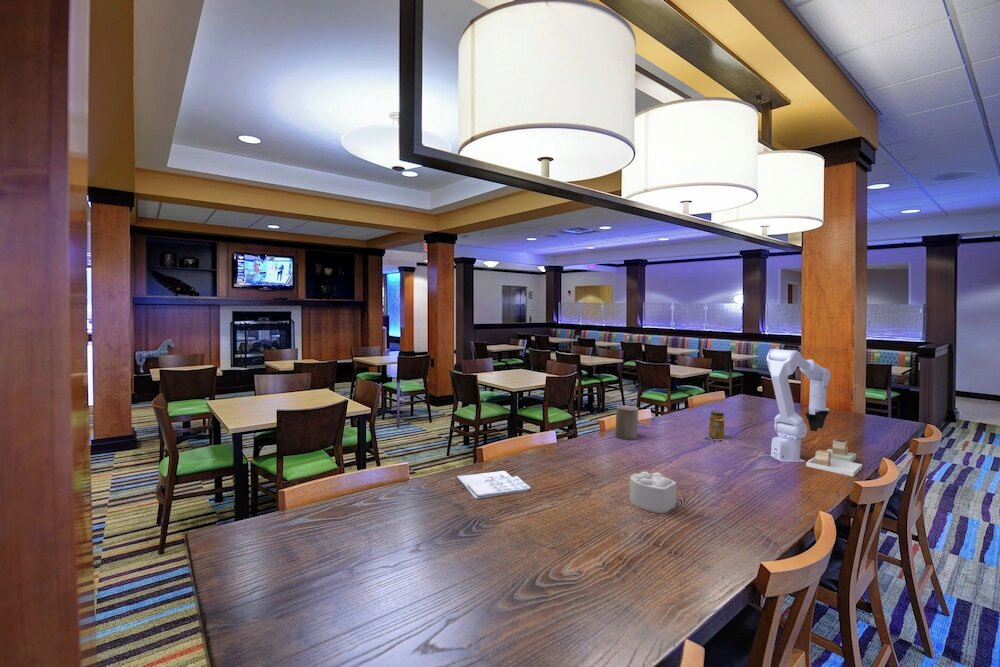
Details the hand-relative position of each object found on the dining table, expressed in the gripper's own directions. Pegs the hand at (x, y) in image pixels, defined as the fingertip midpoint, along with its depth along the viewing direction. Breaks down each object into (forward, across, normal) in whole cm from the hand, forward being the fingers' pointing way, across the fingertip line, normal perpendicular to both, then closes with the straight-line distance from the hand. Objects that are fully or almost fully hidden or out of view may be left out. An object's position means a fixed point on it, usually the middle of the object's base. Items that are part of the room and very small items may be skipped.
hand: (816, 429), depth 194 cm
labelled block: (+7, -3, -9) cm, 12 cm away
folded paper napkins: (+11, -123, +61) cm, 137 cm away
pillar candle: (+10, -38, +65) cm, 76 cm away
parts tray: (+10, -17, -10) cm, 22 cm away
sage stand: (+10, -3, -9) cm, 13 cm away
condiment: (+10, -9, +37) cm, 39 cm away
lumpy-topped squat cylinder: (+10, -97, +18) cm, 99 cm away
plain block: (+9, -17, -7) cm, 20 cm away
